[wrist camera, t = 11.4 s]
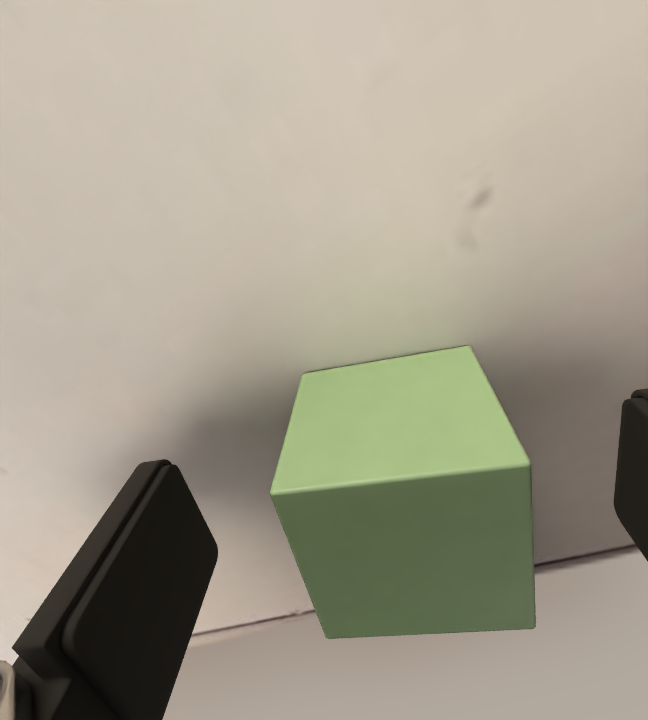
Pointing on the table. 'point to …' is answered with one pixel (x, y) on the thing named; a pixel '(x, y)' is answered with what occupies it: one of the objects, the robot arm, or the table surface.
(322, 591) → the block
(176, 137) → the table surface
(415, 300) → the table surface
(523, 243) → the table surface
